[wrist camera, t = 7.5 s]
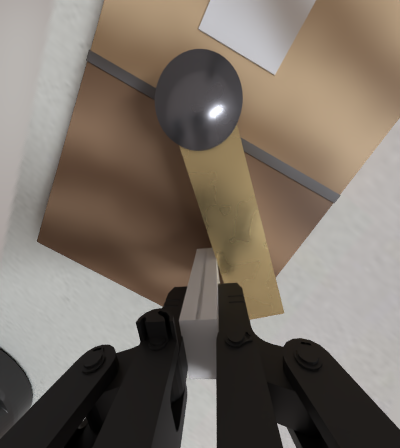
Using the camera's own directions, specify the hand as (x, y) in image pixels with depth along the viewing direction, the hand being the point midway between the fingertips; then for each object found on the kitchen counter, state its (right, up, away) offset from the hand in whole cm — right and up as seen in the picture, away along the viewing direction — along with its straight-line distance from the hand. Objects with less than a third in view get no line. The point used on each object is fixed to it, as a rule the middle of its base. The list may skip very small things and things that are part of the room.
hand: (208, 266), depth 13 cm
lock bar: (+1, +4, 0) cm, 5 cm away
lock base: (+1, +9, +1) cm, 9 cm away
